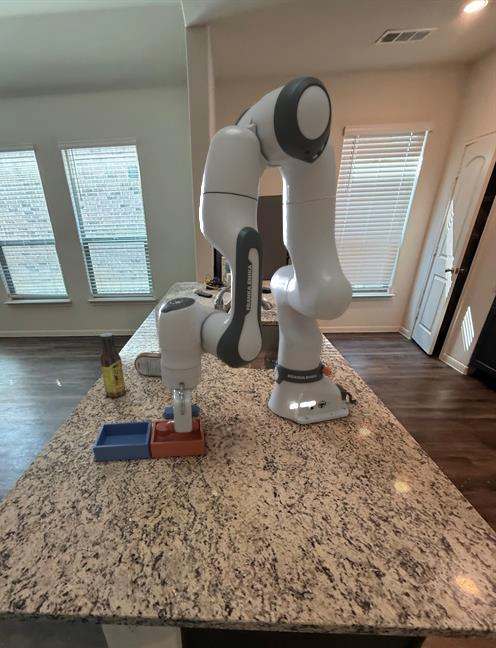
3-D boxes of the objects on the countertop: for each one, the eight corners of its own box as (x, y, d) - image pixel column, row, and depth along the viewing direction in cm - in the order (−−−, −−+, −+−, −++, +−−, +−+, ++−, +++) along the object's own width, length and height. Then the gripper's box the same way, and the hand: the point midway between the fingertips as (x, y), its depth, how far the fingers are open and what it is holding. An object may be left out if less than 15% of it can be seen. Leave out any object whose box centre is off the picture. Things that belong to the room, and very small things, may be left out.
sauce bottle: (120, 399, 98) (110, 338, 89) (102, 397, 99) (90, 337, 90) (129, 389, 104) (120, 331, 95) (112, 387, 105) (101, 330, 96)
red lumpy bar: (198, 426, 78) (198, 416, 77) (199, 435, 75) (198, 424, 74) (157, 428, 78) (156, 418, 76) (156, 437, 74) (154, 426, 73)
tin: (177, 374, 113) (175, 353, 109) (175, 378, 110) (173, 356, 106) (138, 372, 115) (135, 351, 112) (134, 376, 113) (131, 354, 109)
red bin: (202, 430, 83) (201, 417, 81) (204, 454, 74) (204, 440, 72) (155, 433, 82) (153, 420, 80) (152, 457, 73) (150, 444, 71)
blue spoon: (199, 410, 91) (199, 401, 90) (200, 417, 88) (199, 408, 87) (164, 412, 91) (163, 403, 89) (163, 419, 88) (162, 410, 86)
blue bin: (152, 433, 82) (151, 420, 80) (149, 457, 73) (147, 444, 71) (104, 436, 81) (102, 423, 79) (95, 461, 73) (92, 447, 71)
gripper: (197, 396, 60) (199, 452, 67) (194, 356, 78) (196, 403, 85) (165, 397, 60) (169, 454, 66) (169, 357, 78) (172, 404, 84)
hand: (184, 425), depth 76 cm, fingers closed on red lumpy bar, 3 cm apart
